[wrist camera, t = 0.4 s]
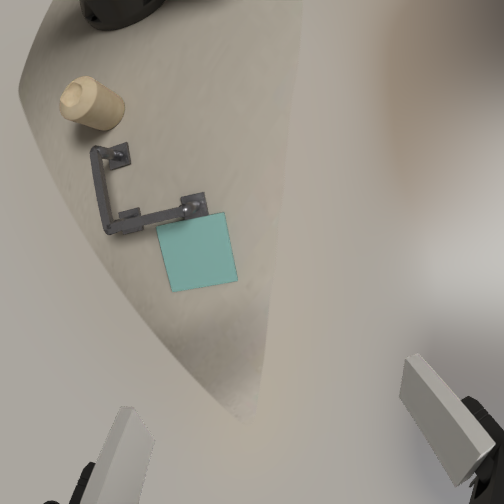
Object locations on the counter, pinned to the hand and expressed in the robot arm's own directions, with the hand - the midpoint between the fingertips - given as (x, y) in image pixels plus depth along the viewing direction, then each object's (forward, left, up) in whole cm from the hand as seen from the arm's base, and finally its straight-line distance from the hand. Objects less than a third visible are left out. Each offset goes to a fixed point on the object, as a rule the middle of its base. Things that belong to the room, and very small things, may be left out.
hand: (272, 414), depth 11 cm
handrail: (-13, -10, -26) cm, 31 cm away
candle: (-24, -16, -27) cm, 39 cm away
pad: (-2, -7, -26) cm, 27 cm away
